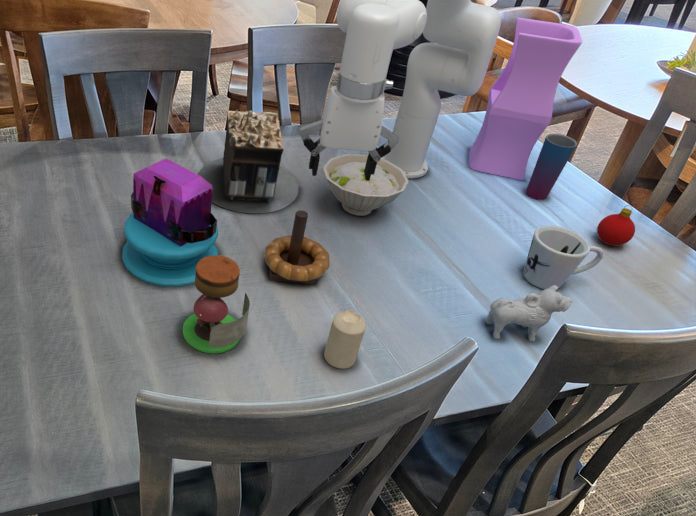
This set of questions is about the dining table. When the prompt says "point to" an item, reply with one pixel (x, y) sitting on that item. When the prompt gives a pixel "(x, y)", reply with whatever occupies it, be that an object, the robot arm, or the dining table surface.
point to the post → (296, 248)
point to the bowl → (363, 183)
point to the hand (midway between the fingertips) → (340, 174)
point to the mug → (557, 256)
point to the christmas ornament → (616, 228)
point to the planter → (251, 166)
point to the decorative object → (169, 225)
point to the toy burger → (215, 307)
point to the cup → (550, 165)
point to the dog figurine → (527, 310)
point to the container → (523, 97)
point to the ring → (297, 271)
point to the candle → (344, 339)
